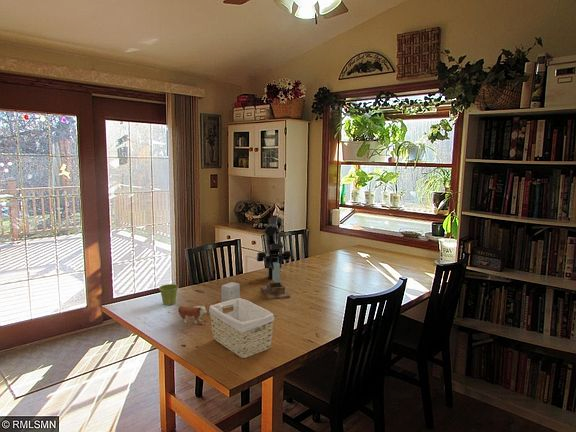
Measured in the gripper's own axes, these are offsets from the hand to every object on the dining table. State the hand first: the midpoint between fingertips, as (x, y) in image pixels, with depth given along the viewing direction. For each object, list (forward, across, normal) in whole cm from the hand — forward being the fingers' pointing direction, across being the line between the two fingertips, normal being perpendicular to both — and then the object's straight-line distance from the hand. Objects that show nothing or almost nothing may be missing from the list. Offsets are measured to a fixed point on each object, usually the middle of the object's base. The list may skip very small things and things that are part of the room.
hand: (276, 269), depth 220 cm
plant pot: (+12, -56, +7) cm, 58 cm away
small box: (+18, -26, +1) cm, 32 cm away
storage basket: (+50, -27, -30) cm, 64 cm away
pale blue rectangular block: (+4, 0, +5) cm, 7 cm away
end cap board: (+9, 0, +10) cm, 13 cm away
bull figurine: (+31, -45, -12) cm, 56 cm away
